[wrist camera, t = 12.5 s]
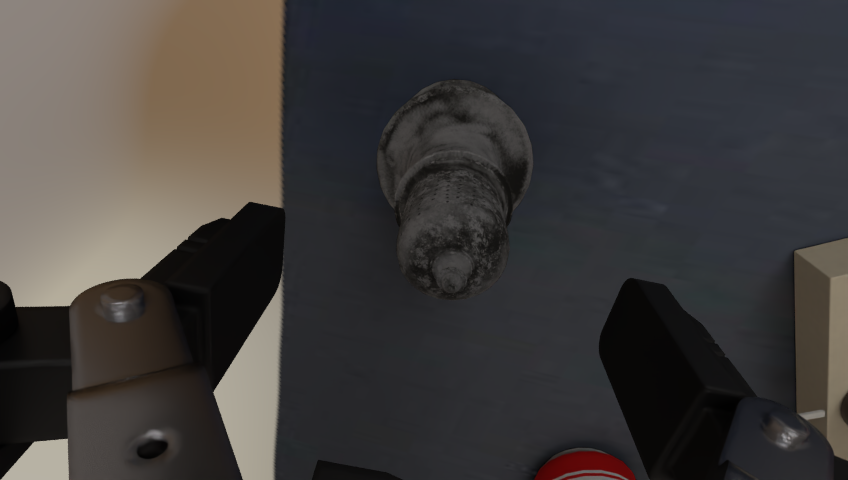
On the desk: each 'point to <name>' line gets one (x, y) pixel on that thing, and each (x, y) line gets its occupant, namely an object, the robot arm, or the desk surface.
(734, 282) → the desk surface
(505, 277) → the desk surface
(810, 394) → the hob
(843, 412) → the hob knob
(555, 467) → the beer can
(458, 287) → the grey chess piece
